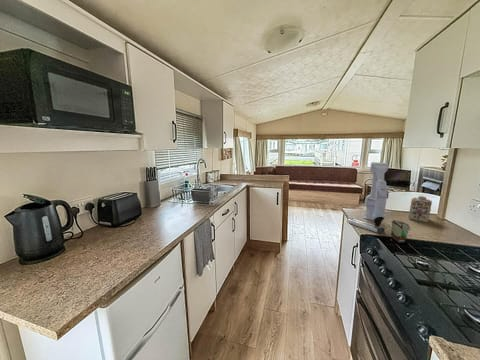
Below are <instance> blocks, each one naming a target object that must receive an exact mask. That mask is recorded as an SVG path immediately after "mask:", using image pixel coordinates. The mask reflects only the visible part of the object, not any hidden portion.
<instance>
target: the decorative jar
mask: <svg viewBox="0 0 480 360" xmlns="http://www.w3.org/2000/svg"><path fill="white" fill-rule="evenodd" d="M432 203H433V202H432V200H430V199H428V198H427V197H426V196H423V195H422V196H421V195H418V197H412V198H411V201H410V206H409V214H408V220H413V221H417V222H422V221H423V223H427V222H428V223H429V219H430V215H431V212H432V211H431V208H432V205H433V204H432Z"/></svg>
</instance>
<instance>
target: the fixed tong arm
mask: <svg viewBox="0 0 480 360" xmlns="http://www.w3.org/2000/svg"><path fill="white" fill-rule="evenodd" d="M346 223H347V224H350V225H353V226H355V227H356V226H357V227H359V228H362V229H364V230H367V229H368V230H367V231H370V230H371V231H370V232H373V231H374V232H373V233H376V234H379V235H382V234H383V232H382V229H378V228H375V227H372V226H369V225H366V224H363V223H360V222H357V221H354V220H351V219H350V218H347V219H346ZM381 233H382V234H381Z"/></svg>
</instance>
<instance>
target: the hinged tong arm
mask: <svg viewBox="0 0 480 360" xmlns="http://www.w3.org/2000/svg"><path fill="white" fill-rule="evenodd" d="M349 219H351V220H354V221H357V222H360V223H363V224H366V225H369V226H372V227H375V228H378V229H382V234H383V233H385V231H386V228H385V227H382V226H376V225H375V224H372V223H369V222H365V221H361V220H358V219H354V218H352V217H350V218H349Z"/></svg>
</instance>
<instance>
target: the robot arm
mask: <svg viewBox="0 0 480 360" xmlns="http://www.w3.org/2000/svg"><path fill="white" fill-rule="evenodd" d="M388 169H389V163H388V162H377V161H376V162H375V161H372V162H371V163H370V169H369V170H370V171H369V172H370V173H371V174H372V180H371V186H370V193H369V194H367V195H366V196H365V199H364V206H365V207H366V208H365V216H363V217H362V218H363V219H364V220H365V219H366V220H369V221H373V222H374V225H376V226H379V227H381V224H382V223H383V220H385V218H386V217H387V215H386V207H387V205H386V204H387V200H388V199H389V194H390V193H389V189H388V188H387V181H386V180H385V173H386V172H387V171H388Z"/></svg>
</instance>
